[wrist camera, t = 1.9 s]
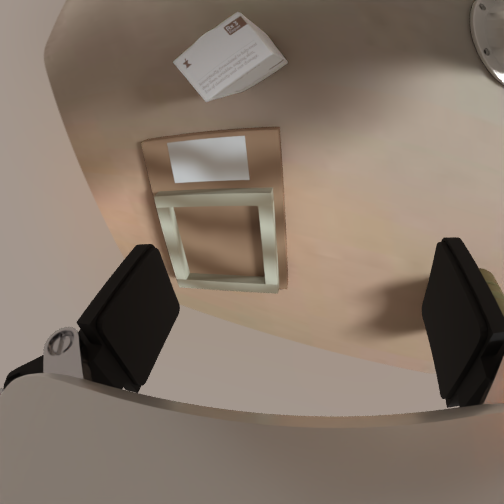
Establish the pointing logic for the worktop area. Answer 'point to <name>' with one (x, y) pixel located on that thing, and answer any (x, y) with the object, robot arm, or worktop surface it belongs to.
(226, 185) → the framed base plate
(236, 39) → the skincare box
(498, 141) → the worktop surface
